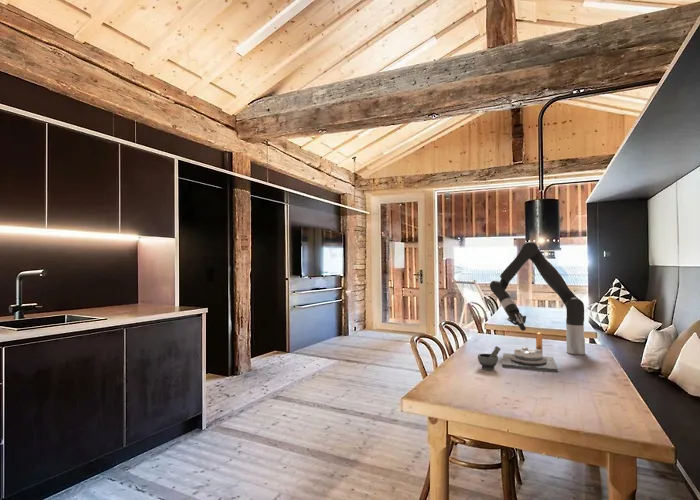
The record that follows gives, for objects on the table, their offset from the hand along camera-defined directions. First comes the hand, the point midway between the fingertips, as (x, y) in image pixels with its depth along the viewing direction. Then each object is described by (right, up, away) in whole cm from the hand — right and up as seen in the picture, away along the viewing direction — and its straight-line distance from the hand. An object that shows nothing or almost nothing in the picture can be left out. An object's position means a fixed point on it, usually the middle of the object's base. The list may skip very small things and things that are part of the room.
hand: (524, 329), depth 231 cm
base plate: (-6, -14, -19) cm, 24 cm away
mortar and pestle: (-31, -14, -30) cm, 46 cm away
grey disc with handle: (-4, -11, -17) cm, 21 cm away
